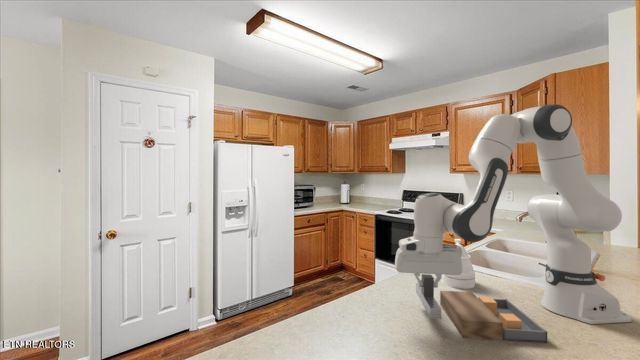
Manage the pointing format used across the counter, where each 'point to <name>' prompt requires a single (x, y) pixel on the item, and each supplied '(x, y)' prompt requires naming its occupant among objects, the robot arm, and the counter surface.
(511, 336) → the tray
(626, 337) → the counter surface
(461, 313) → the ledge
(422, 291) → the grey stick with cube
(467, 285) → the honey pot
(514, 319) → the block
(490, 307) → the block
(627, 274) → the counter surface
